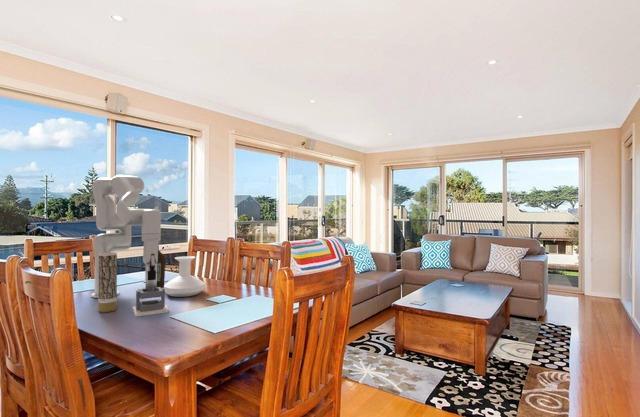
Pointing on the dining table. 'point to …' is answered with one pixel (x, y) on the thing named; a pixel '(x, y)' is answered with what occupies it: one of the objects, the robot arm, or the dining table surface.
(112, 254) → the bark-patterned cylinder
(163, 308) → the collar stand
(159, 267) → the olive oil
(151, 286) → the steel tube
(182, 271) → the white vase
